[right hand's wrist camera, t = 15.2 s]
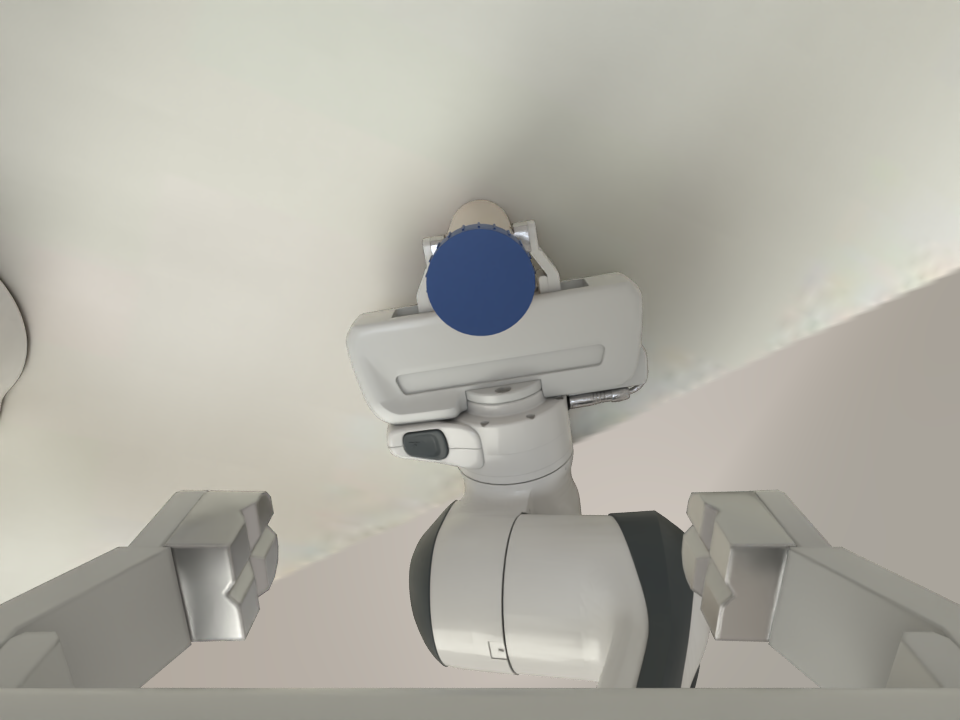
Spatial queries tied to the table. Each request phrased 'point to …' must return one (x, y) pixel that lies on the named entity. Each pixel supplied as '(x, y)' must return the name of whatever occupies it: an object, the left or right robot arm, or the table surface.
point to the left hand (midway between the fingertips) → (477, 229)
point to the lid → (480, 280)
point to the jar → (480, 215)
